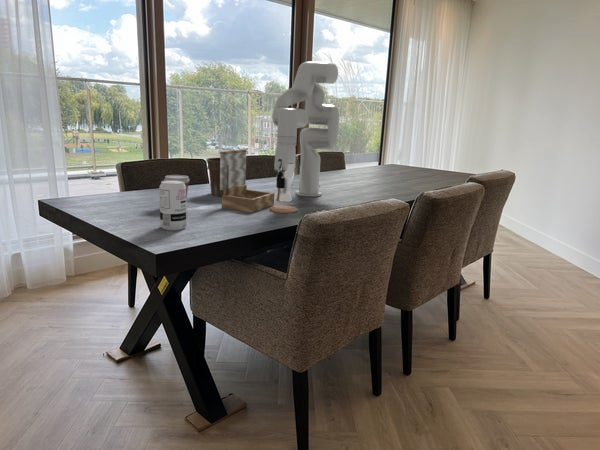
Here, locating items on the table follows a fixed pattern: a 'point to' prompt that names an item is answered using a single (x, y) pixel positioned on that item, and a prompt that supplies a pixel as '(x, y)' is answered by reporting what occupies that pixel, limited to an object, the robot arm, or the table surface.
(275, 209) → the saucer
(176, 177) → the disposable coffee cup
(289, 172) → the beer glass
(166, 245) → the table surface
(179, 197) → the supplement can
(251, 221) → the table surface
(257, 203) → the open wooden box
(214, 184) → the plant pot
